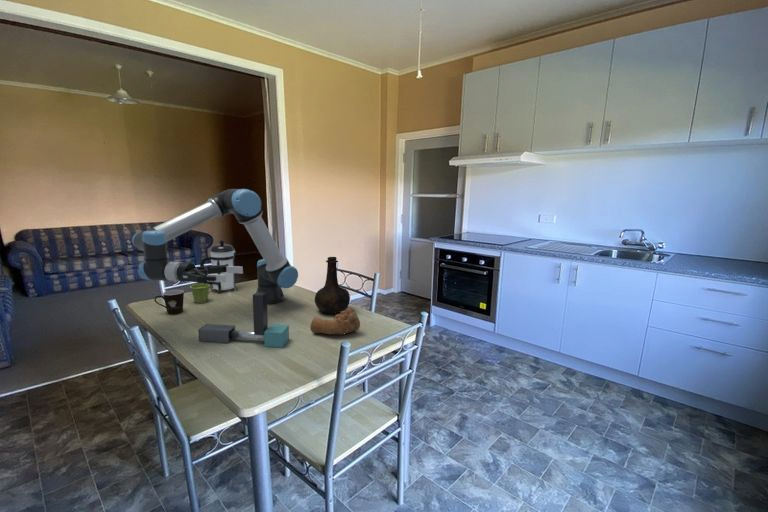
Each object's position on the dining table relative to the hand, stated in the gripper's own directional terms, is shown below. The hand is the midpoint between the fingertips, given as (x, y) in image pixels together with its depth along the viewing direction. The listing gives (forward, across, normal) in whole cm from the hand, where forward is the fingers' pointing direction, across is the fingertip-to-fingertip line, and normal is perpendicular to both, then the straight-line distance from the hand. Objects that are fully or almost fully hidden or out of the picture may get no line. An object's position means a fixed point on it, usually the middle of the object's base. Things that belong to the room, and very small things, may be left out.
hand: (234, 274), depth 133 cm
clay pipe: (+38, -13, -28) cm, 49 cm away
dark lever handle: (+6, 0, -26) cm, 27 cm away
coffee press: (-41, -64, -28) cm, 80 cm away
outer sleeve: (-8, 0, -27) cm, 29 cm away
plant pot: (-41, -43, -28) cm, 66 cm away
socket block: (+16, 0, -28) cm, 32 cm away
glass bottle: (+30, -39, -28) cm, 57 cm away
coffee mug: (-46, -26, -28) cm, 59 cm away
